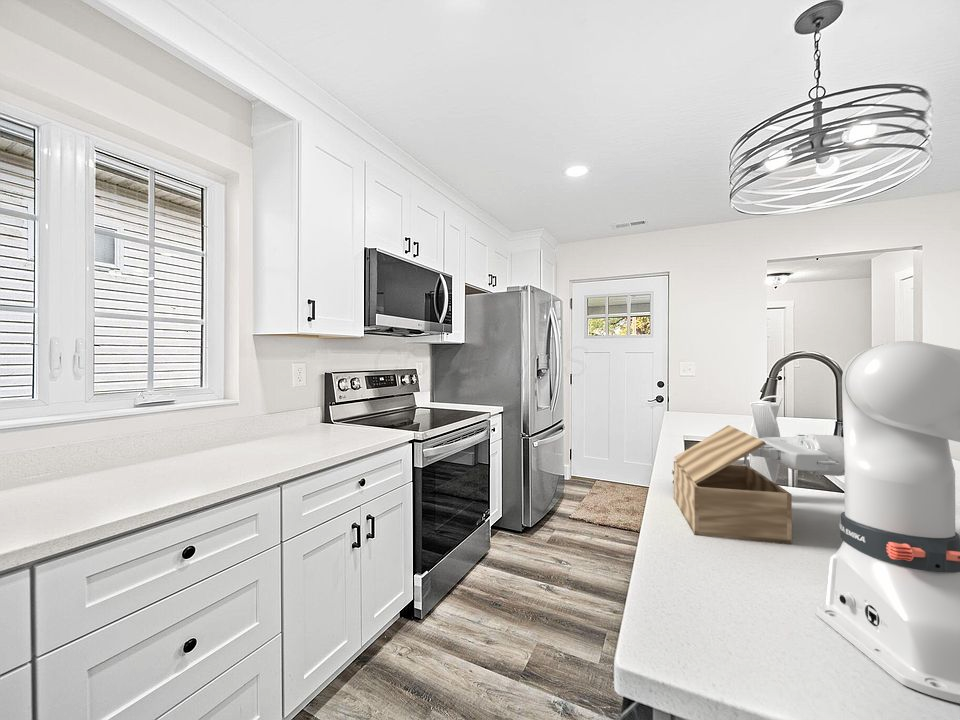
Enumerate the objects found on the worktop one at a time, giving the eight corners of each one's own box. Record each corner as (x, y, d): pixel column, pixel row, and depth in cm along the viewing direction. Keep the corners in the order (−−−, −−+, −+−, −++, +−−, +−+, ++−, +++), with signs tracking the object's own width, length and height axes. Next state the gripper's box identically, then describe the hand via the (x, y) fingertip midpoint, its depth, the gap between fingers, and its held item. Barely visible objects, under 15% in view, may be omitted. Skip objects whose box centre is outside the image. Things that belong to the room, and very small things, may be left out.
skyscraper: (773, 495, 122) (773, 394, 123) (788, 504, 114) (788, 396, 115) (740, 493, 124) (740, 394, 124) (753, 502, 116) (753, 396, 116)
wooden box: (791, 544, 88) (791, 494, 88) (694, 534, 92) (694, 487, 92) (748, 504, 113) (748, 465, 113) (673, 498, 118) (673, 461, 118)
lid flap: (766, 443, 90) (764, 441, 90) (695, 484, 93) (694, 481, 93) (729, 427, 114) (728, 425, 114) (675, 459, 117) (673, 457, 117)
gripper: (844, 480, 88) (766, 475, 91) (799, 459, 108) (736, 456, 111) (844, 449, 88) (766, 445, 92) (799, 433, 108) (736, 431, 111)
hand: (749, 451), depth 102 cm, fingers closed
